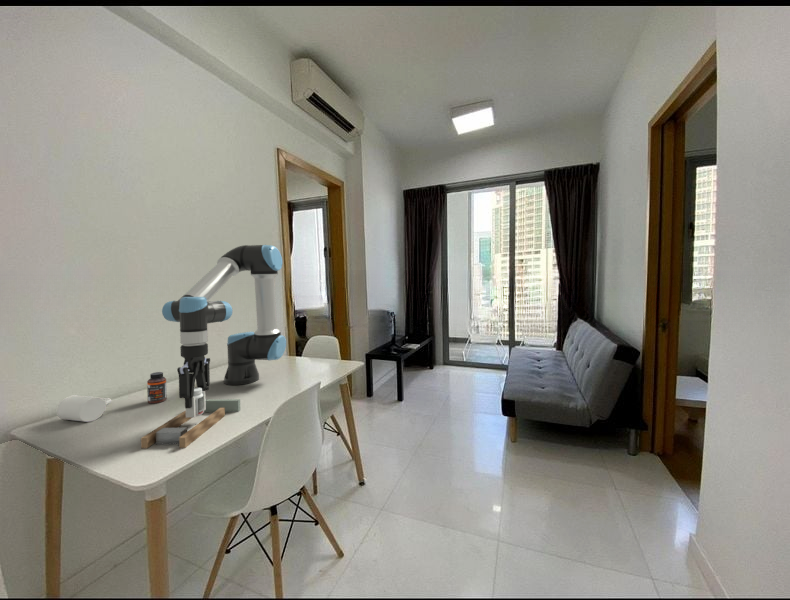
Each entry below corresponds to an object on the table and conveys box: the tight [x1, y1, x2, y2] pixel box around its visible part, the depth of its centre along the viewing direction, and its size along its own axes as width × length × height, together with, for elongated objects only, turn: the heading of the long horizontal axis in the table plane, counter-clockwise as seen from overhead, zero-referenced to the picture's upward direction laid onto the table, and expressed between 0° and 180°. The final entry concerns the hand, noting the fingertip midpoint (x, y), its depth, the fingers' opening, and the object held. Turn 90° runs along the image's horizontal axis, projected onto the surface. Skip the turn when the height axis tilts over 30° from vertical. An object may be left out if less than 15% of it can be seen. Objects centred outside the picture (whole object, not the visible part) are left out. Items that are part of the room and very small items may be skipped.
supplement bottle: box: [146, 371, 168, 405], centre depth 120 cm, size 6×6×11 cm
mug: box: [55, 394, 113, 423], centre depth 106 cm, size 12×10×8 cm
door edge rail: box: [204, 398, 241, 413], centre depth 111 cm, size 2×18×4 cm, turn 92°
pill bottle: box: [193, 387, 205, 417], centre depth 100 cm, size 5×5×8 cm
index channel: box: [140, 408, 226, 449], centre depth 96 cm, size 21×12×3 cm, turn 2°
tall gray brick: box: [155, 427, 188, 445], centre depth 89 cm, size 3×7×4 cm, turn 92°
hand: (196, 413), depth 100 cm, fingers closed on pill bottle, 5 cm apart
